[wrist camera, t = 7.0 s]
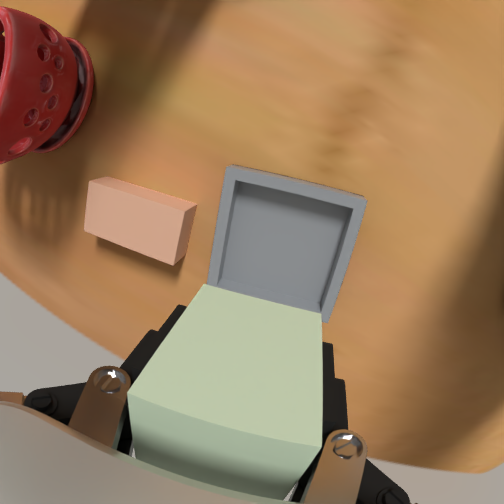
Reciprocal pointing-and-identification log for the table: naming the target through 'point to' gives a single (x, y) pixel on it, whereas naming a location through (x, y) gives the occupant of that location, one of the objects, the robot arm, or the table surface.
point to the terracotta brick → (139, 218)
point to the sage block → (233, 395)
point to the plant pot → (39, 85)
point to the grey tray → (284, 239)
